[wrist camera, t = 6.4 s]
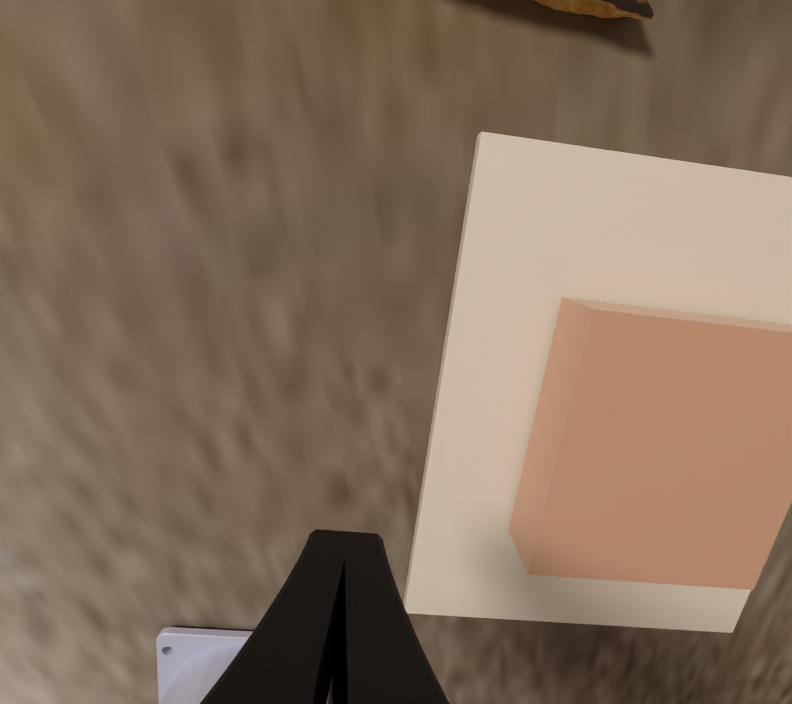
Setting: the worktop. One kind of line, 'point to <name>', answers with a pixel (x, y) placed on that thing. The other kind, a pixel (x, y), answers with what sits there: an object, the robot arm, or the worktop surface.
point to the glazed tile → (657, 448)
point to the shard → (603, 8)
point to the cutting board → (531, 340)
